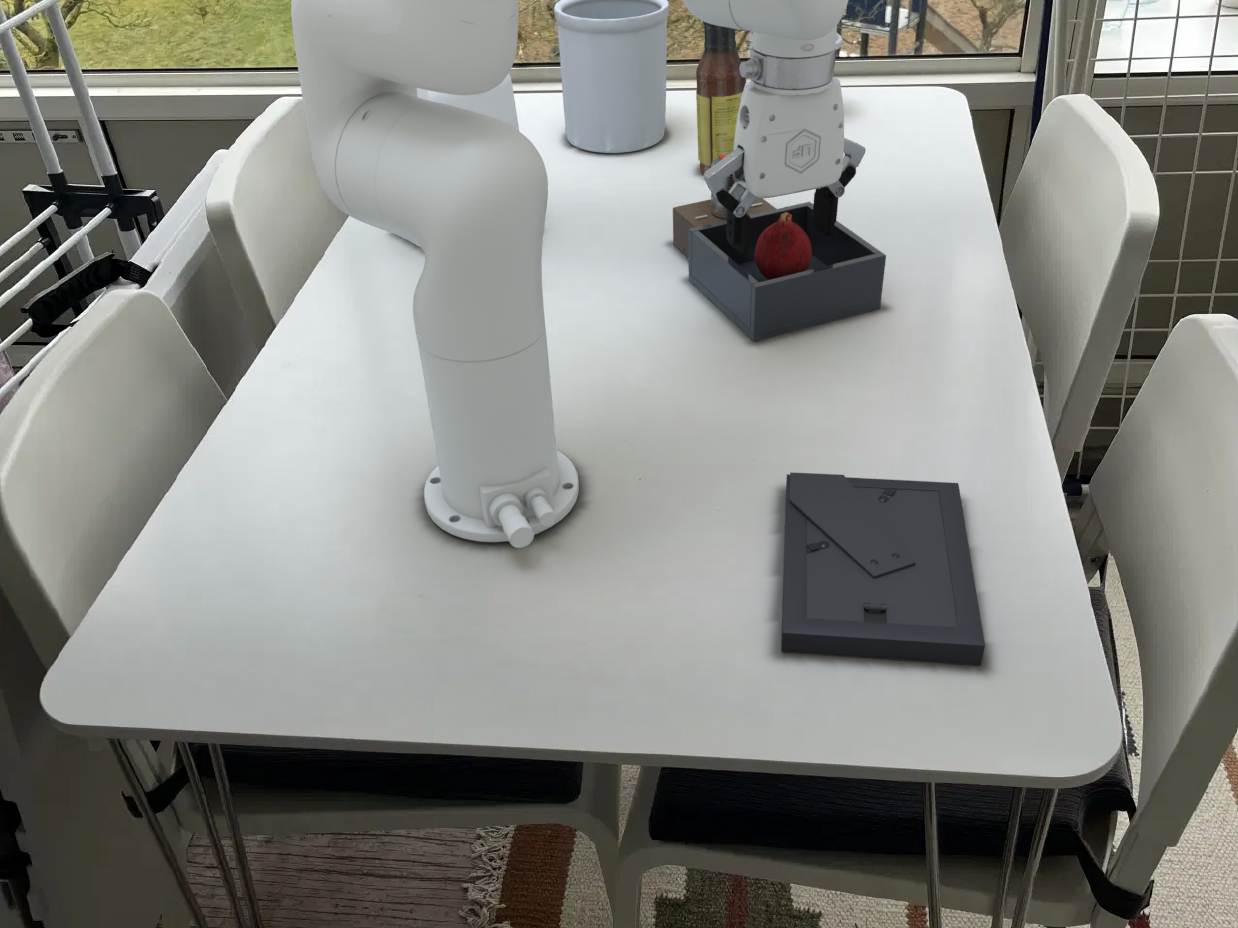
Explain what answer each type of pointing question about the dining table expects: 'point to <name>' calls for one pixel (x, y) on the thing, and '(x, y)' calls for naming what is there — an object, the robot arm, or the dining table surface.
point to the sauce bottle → (717, 94)
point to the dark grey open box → (786, 277)
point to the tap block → (703, 219)
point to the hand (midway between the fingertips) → (781, 240)
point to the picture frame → (878, 571)
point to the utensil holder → (613, 72)
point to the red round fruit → (783, 249)
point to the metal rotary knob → (718, 208)
